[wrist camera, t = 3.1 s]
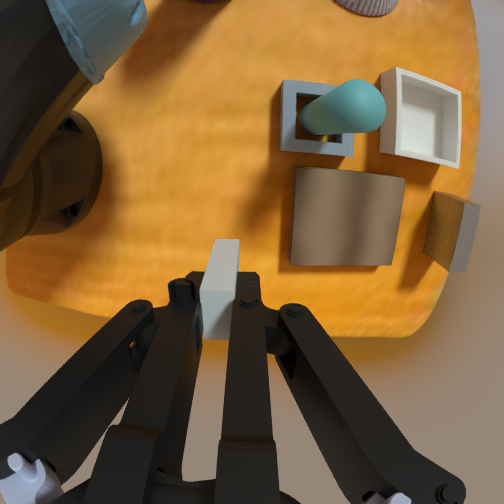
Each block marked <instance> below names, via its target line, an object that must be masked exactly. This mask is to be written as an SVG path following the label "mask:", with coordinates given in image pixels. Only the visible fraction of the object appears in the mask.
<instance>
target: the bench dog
mask: <svg viewBox="0 0 504 504" xmlns="http://www.w3.org/2000/svg"><path fill="white" fill-rule="evenodd" d="M480 207H481V206H480V205H477V204H475V203H473V202H470V201H468V200H465V199H463V198H460V197H458V196H455V195H452V194H449V193H444V192H438V191H434V196H433V203H432V209H431V215H430V221H429V226H428V231H427V236H426V241H425V245H424V249H423V252H424V253H425V254H427V255H428V256H429V257H430V258H432V259H433V260H434V261H436V262H437V263H438V264H439V265H441V266H442V267H443V268H444V269H446V270H447V271H448V272H465V270H466V266H467V263H468V260H469V256H470V252H471V248H472V245H473V240H474V236H475V232H476V227H477V223H478V217H479V212H480Z"/></svg>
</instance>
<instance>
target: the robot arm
mask: <svg viewBox="0 0 504 504" xmlns="http://www.w3.org/2000/svg"><path fill="white" fill-rule="evenodd" d="M147 18H148V15H147V10H146V6H145V3H144V1H143V0H0V251H2V250H3V249H5V248H7V247H8V246H10V245H11V244H13V243H14V242H16V241H17V240H19V239H21V238H22V237H24V236H28V235H44V234H56V233H59V232H62V231H65V230H67V229H68V228H70V227H72V226H73V225H75V224H77V223H78V222H80V221H81V220H82V219H83V218H84V217H85V216H86V215H87V213H88V212H89V211H90V209H91V208H92V206H93V204H94V202H95V200H96V197H97V195H98V192H99V188H100V183H101V177H102V156H101V149H100V145H99V141H98V138H97V136H96V133H95V131H94V129H93V128H92V126H91V124H90V123H89V122H88V121H87V119H86V118H85V117H84V116H82V115H81V114H80V113H78V112H76V111H74V110H72V109H73V108H74V107H75V106H76V104H77V103H78V102H79V101H80V100H81V99H82V97H83V96H84V95H85V94H86V93H87V92H88V91H89V90H90V88H91V87H92V86H93V85H94V84H95V85H96V84H99V83H100V82H101V81H102V80H103V79H104V76H105V73H106V72H107V71H108V69H109V68H110V67H111V66H112V65H113V64H114V63H115V62H116V61H117V60H118V59H119V58H120V57H121V56H122V55H123V54H124V53H125V52H126V51H127V50H128V49H129V48H130V47H131V46H132V45H133V44H134V43H135V42H136V41H137V40H138V39H139V38H140V36H141V35H142V34H143V32H144V30H145V27H146V24H147ZM168 290H169V298H170V301H169V303H168V305H167V306H163V307H157V308H153V305H152V303H151V302H150V301H147V300H142V299H139V300H135V301H132V302H130V303H128V304H127V305H126V306H125V307H124V308H122V309H121V310H120V311H119V312H118V313H117V314H116V315H115V316H114V317H113V318H112V319H111V320H110V321H108V323H106V324H105V325H104V326H103V327H102V328H101V329H100V330H99V331H98V332H97V333H96V334H95V335H94V336H93V337H92V338H90V339H89V340H88V341H87V342H86V343H85V344H84V345H83V346H82V347H81V348H80V349H79V350H78V351H77V352H76V353H75V354H74V355H73V356H72V357H71V358H70V359H69V360H68V361H67V362H66V363H65V364H64V365H63V366H62V367H61V368H60V369H59V370H58V371H57V372H56V373H55V374H54V375H53V376H52V377H51V378H50V379H49V380H48V381H47V382H46V383H45V384H44V385H43V386H42V387H41V388H40V389H39V391H37V392H36V394H35V395H34V396H33V397H32V398H31V399H30V400H29V401H28V402H27V403H26V404H25V406H23V408H21V410H20V411H19V412H18V413H17V414H16V415H15V416H14V417H13V418H11V419H9V420H8V421H6V422H4V423H2V424H1V425H0V492H1V493H2V496H3V498H4V499H5V502H6V503H7V504H301V503H299V502H298V501H297V500H296V499H294V498H293V497H291V496H290V495H288V494H286V493H284V492H282V491H279V478H278V466H277V465H278V464H277V452H276V444H275V441H274V440H273V431H272V418H271V404H270V390H269V376H268V363H267V353H269V354H274V355H275V359H276V361H277V363H278V366H279V368H280V370H281V372H282V374H283V376H284V378H285V380H286V382H287V384H288V386H289V388H290V391H291V393H292V395H293V397H294V399H295V401H296V403H297V405H298V407H299V409H300V411H301V413H302V415H303V417H304V419H305V421H306V423H307V425H308V427H309V429H310V431H311V433H312V435H313V437H314V439H315V441H316V443H317V445H318V447H319V449H320V451H321V453H322V455H323V457H324V459H325V461H326V462H327V464H328V466H329V468H330V470H331V472H332V474H333V476H334V478H335V480H336V482H337V484H338V486H339V487H340V489H341V490H342V492H343V494H344V495H345V497H346V498H347V500H348V501H349V502H350V503H351V504H463V502H464V500H465V497H466V488H465V485H464V483H463V482H462V481H461V480H460V479H459V478H458V477H456V476H454V475H453V474H451V473H449V472H448V471H446V470H445V469H443V468H442V467H440V466H438V465H437V464H435V463H434V462H432V461H431V460H429V459H427V458H426V457H424V456H423V455H421V454H420V453H418V452H417V451H415V450H414V449H413V448H412V446H411V445H410V444H409V442H408V441H407V439H406V438H405V437H404V436H403V434H402V433H401V431H400V430H399V429H398V427H397V426H396V425H395V423H394V422H393V420H392V419H391V418H390V417H389V415H388V414H387V412H386V411H385V410H384V409H383V407H382V406H381V405H380V403H379V402H378V400H377V399H376V398H375V396H374V395H373V394H372V392H371V391H370V390H369V389H368V387H367V386H366V384H365V383H364V382H363V380H362V379H361V378H360V376H359V375H358V374H357V372H356V371H355V370H354V369H353V367H352V366H351V364H350V363H349V362H348V360H347V359H346V358H345V356H344V355H343V354H342V353H341V351H340V350H339V348H338V347H337V346H336V345H335V343H334V342H333V341H332V339H331V338H330V337H329V335H328V334H327V333H326V331H325V330H324V329H323V327H322V326H321V325H320V323H319V322H318V321H317V320H316V318H315V317H314V316H313V314H312V313H311V312H310V310H309V309H308V308H307V307H305V306H303V305H301V304H297V303H289V304H285V305H283V306H282V307H280V309H279V311H278V310H274V309H270V308H268V307H266V306H265V305H264V304H263V302H262V300H261V289H260V276H259V275H258V274H257V273H256V272H239V239H216V240H215V243H214V246H213V249H212V252H211V255H210V258H209V261H208V265H207V268H206V271H205V272H199V271H192V272H190V273H189V274H188V275H186V277H185V278H178V279H174V280H172V281H170V282H169V283H168ZM202 334H203V335H204V339H216V340H229V348H228V360H227V371H226V383H225V395H224V407H223V420H222V433H221V439H220V441H219V446H218V456H217V469H216V479H212V480H203V481H194V482H187V481H183V480H182V460H183V453H184V447H185V441H186V435H187V428H188V423H189V417H190V411H191V406H192V400H193V394H194V389H195V383H196V377H197V373H198V367H199V362H200V357H201V352H202V347H203V345H202ZM132 342H133V345H132V346H131V347H130V345H131V343H132ZM129 397H130V398H129ZM128 399H129V400H128ZM127 400H128V403H127V406H126V408H125V411H124V414H123V417H122V420H121V422H120V423H119V424H118V425H111V426H110V427H109V428H108V426H109V425H110V424H111V422H112V421H113V419H114V418H115V417H116V415H117V414H118V412H119V411H120V410H121V408H122V407H123V405H124V404H125V403H126V401H127ZM107 428H108V430H107V432H106V434H105V437H104V440H103V443H102V445H101V448H100V451H99V454H98V457H97V460H96V463H95V465H94V468H93V471H92V475H91V478H89V479H88V480H86V481H84V482H83V483H81V484H79V485H78V486H76V487H74V488H73V489H71V490H69V491H67V492H66V493H64V491H63V490H62V489H61V485H62V484H63V483H65V482H66V481H67V480H68V479H69V478H70V477H71V476H73V474H75V472H76V471H77V470H78V469H79V467H80V466H81V465H82V463H83V462H84V460H85V459H86V458H87V456H88V455H89V453H90V452H91V450H92V449H93V448H94V446H95V445H96V443H97V442H98V441H99V439H100V438H101V436H102V435H103V433H104V432H105V431H106V429H107Z"/></svg>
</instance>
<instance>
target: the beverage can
mask: <svg viewBox="0 0 504 504" xmlns="http://www.w3.org/2000/svg"><path fill="white" fill-rule="evenodd" d="M193 1H198V2H212V1H218V0H193Z"/></svg>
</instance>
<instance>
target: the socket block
mask: <svg viewBox="0 0 504 504" xmlns="http://www.w3.org/2000/svg"><path fill="white" fill-rule="evenodd" d="M336 87H338V86H335V85H328V84H321V83H313V82H304V81H294V80H283V82H282V83H281V109H280V143H279V150H280V151H291V152H306V153H319V154H329V155H339V156H348V157H353V145H354V133H345V134H336V143H332V142H323V141H312V140H300V139H295V127H296V96H301V97H311V98H319V97H321V96H322V95H324V94H326V93H327V92H329V91H331V90H333V89H334V88H336Z"/></svg>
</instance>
